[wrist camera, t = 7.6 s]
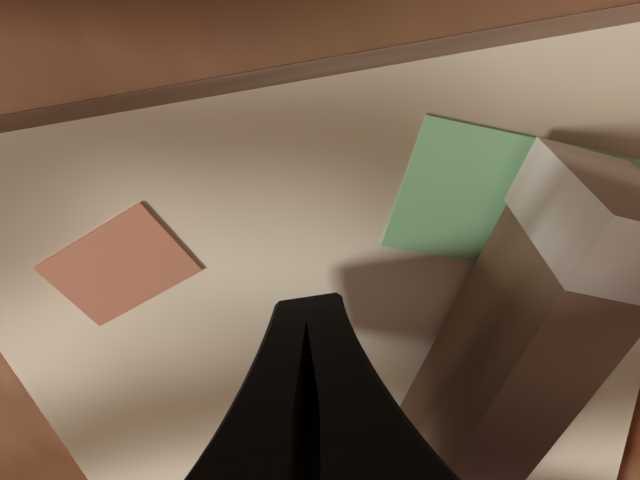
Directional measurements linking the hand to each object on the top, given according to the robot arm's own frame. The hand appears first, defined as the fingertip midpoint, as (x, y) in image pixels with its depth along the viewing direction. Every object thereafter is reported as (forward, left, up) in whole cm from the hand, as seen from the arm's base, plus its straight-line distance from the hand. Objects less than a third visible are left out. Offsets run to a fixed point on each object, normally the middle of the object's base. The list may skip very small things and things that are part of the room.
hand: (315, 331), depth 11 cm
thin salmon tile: (+2, +4, -1) cm, 4 cm away
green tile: (+2, -5, -1) cm, 5 cm away
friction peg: (-4, -3, -1) cm, 5 cm away
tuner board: (-4, 0, -2) cm, 5 cm away
